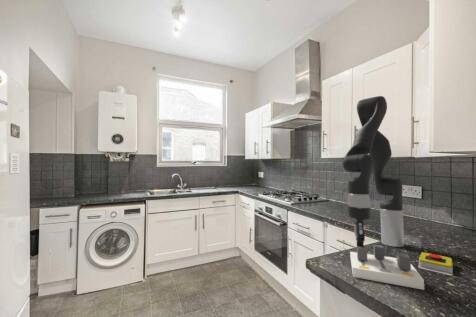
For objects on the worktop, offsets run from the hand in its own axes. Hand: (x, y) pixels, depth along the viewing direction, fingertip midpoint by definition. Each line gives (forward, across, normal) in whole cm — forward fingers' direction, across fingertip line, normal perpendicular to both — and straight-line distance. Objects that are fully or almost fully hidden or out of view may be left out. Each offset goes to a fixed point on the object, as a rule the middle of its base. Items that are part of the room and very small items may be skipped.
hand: (360, 251), depth 83 cm
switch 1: (+2, +3, 0) cm, 4 cm away
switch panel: (+5, +3, +6) cm, 9 cm away
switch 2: (+2, -2, +6) cm, 7 cm away
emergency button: (+6, -12, +26) cm, 29 cm away
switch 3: (+2, +6, +12) cm, 14 cm away
